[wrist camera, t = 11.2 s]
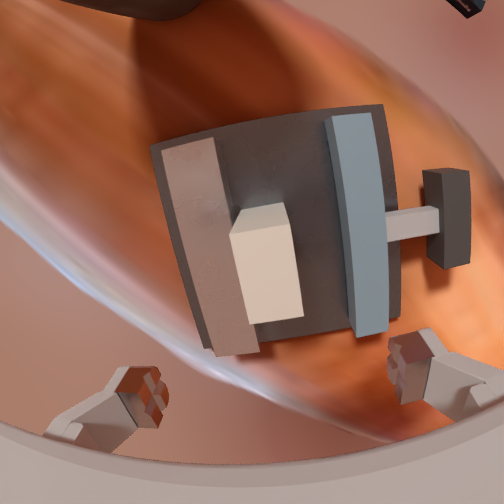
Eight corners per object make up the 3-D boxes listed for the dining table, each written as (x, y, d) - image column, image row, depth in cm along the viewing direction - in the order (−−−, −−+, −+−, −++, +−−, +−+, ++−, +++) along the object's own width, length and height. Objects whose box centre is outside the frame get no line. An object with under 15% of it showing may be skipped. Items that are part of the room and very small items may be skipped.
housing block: (283, 202, 25) (289, 223, 17) (294, 270, 26) (303, 316, 19) (241, 209, 25) (229, 234, 18) (255, 276, 27) (249, 324, 19)
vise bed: (377, 106, 23) (396, 98, 19) (395, 309, 29) (411, 331, 25) (155, 145, 25) (134, 145, 21) (206, 340, 31) (198, 366, 27)
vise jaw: (440, 113, 21) (460, 110, 18) (448, 297, 26) (464, 312, 23) (324, 120, 22) (332, 115, 19) (349, 320, 27) (357, 340, 24)
